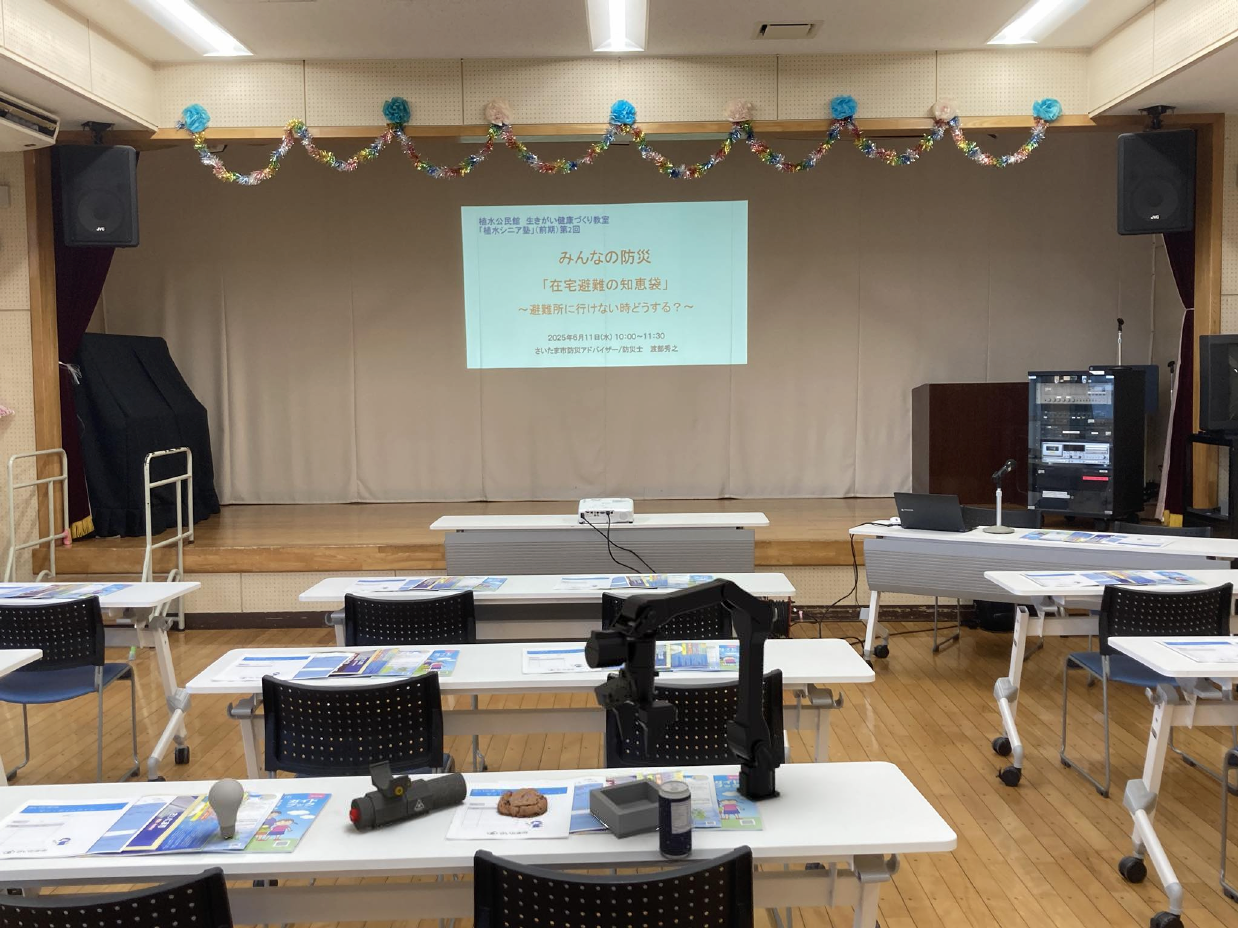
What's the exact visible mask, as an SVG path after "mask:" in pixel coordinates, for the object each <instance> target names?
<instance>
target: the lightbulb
mask: <svg viewBox="0 0 1238 928" xmlns="http://www.w3.org/2000/svg"><path fill="white" fill-rule="evenodd" d="M244 797H245V790H244V787H243V784H241V782H239V781H238V780H237V779H234V778H230V777H225V778H222V779H220V780H218V781H216V782H214V784H213V785H212V786H211V787H210V790H209V792H208V796H207V799H208V804H209V806H210V808H211V809H212V810H213V812H214V814H215V815H216V818H217V824H218V826H219V831H220V833H219V834H220V837H223V838H225V837H230V836H231V837H232V836H234V835H235V833H236V823H237V821H238V820H237V819H238V818H237V817H238V811H239V809H240V807H241V805H242V802H243V800H244ZM231 837H230V838H231Z"/></svg>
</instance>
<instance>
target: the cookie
mask: <svg viewBox="0 0 1238 928" xmlns="http://www.w3.org/2000/svg"><path fill="white" fill-rule="evenodd" d="M548 803H549V802H548V798H547V796H544V794H542V793H540V792H538V790H537V789H536V788H534V787H527V788H525V787H523V788H519V789H517V790H514V791H511V790H509V789H508V790H507V791H504V792H503V793H502V794H501V796H500V797H499V800H498V803H497V805H496V810H497V811H498V813H499V814H500V815H502V816H508V817H511V818H517V819H524V818H526V819H527V818H531V819H533V818H536V817H540V816H542V815H543V814H545V813H546V812H547V810H548V806H549V805H548Z"/></svg>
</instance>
